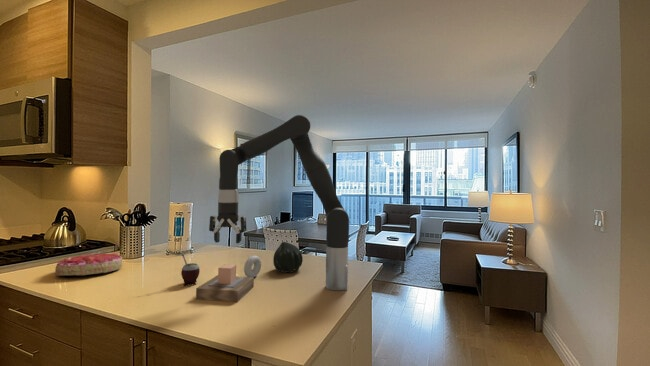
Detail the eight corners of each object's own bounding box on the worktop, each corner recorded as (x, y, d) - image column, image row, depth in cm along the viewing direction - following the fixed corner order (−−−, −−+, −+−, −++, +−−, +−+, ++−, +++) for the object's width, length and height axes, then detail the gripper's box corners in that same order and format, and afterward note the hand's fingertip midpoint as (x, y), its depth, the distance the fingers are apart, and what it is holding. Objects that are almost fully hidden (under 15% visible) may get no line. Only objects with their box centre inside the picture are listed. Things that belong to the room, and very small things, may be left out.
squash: (312, 259, 148) (297, 235, 153) (294, 267, 136) (277, 240, 141) (296, 274, 154) (281, 250, 159) (277, 283, 142) (261, 256, 147)
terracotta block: (235, 280, 118) (236, 264, 118) (230, 284, 113) (230, 268, 113) (224, 279, 118) (224, 264, 118) (218, 283, 113) (218, 267, 113)
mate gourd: (202, 282, 127) (203, 247, 127) (187, 288, 120) (188, 251, 120) (190, 280, 130) (191, 245, 130) (174, 285, 123) (175, 249, 123)
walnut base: (253, 287, 122) (253, 276, 122) (237, 302, 106) (237, 290, 106) (217, 284, 124) (217, 274, 124) (196, 299, 108) (196, 287, 108)
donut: (247, 281, 130) (248, 258, 130) (241, 279, 131) (242, 257, 131) (262, 275, 139) (263, 254, 139) (256, 274, 140) (257, 253, 140)
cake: (78, 280, 123) (80, 261, 124) (40, 276, 131) (41, 258, 132) (134, 269, 147) (134, 252, 147) (98, 266, 155) (99, 250, 155)
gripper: (249, 201, 119) (248, 241, 118) (215, 200, 120) (215, 240, 120) (241, 202, 111) (241, 245, 111) (206, 201, 113) (205, 243, 113)
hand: (227, 242), depth 115 cm, fingers open, 8 cm apart
